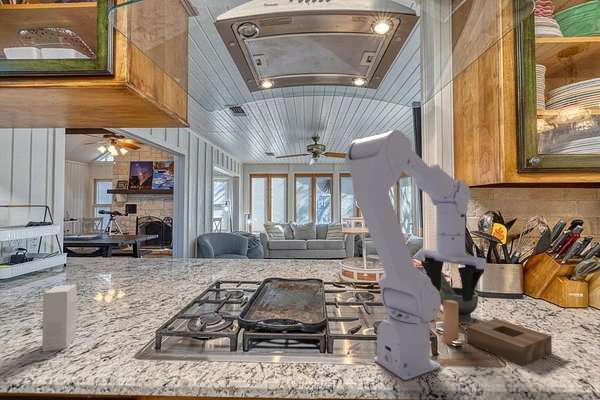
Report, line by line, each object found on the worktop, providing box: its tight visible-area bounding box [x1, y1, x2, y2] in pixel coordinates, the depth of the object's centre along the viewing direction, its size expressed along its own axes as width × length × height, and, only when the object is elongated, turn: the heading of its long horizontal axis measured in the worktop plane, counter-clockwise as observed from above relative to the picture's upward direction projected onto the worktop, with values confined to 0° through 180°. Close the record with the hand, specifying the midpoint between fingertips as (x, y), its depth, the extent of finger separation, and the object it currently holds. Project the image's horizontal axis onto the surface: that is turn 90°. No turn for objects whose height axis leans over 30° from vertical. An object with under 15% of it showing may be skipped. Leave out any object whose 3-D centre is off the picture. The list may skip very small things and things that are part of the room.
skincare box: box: [41, 284, 78, 353], centre depth 65 cm, size 6×4×12 cm
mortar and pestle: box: [439, 271, 479, 322], centre depth 83 cm, size 11×9×12 cm
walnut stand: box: [466, 318, 553, 367], centre depth 64 cm, size 11×11×4 cm
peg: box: [442, 300, 460, 346], centre depth 66 cm, size 3×3×9 cm
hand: (450, 295), depth 67 cm, fingers open, 7 cm apart
